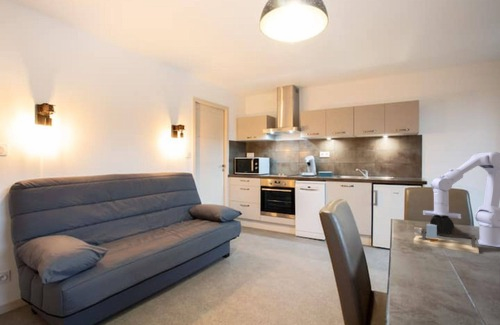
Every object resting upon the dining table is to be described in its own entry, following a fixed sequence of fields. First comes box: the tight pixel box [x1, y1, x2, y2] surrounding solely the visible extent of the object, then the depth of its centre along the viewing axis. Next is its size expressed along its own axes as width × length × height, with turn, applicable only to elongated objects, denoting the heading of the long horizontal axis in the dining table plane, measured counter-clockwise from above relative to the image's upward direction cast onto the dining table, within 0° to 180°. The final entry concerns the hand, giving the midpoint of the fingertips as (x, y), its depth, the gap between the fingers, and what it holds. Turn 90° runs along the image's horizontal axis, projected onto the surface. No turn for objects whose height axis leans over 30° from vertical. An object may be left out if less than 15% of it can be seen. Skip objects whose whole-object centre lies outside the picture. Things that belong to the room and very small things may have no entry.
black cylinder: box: [429, 215, 455, 234], centre depth 151 cm, size 10×34×10 cm, turn 142°
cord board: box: [412, 226, 480, 254], centre depth 122 cm, size 24×10×6 cm, turn 52°
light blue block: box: [426, 223, 438, 239], centre depth 125 cm, size 4×4×6 cm
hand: (441, 231), depth 123 cm, fingers closed
